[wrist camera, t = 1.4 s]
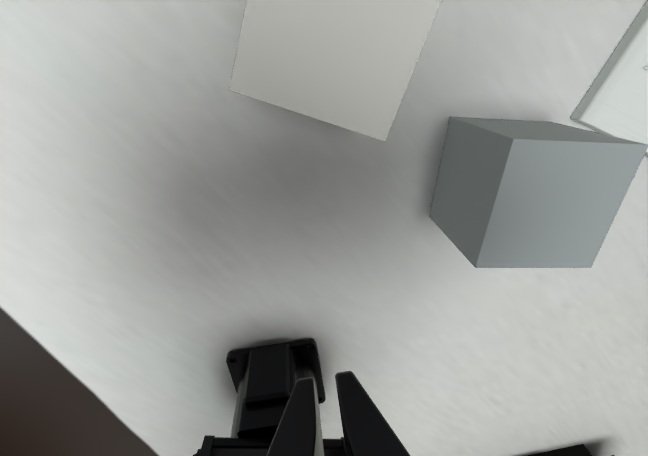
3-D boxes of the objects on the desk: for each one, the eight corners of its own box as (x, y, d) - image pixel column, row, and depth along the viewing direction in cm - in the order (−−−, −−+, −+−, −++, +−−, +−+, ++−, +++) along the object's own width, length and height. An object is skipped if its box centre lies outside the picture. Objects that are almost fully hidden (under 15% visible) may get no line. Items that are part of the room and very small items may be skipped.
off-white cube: (357, 118, 18) (385, 142, 13) (247, 81, 17) (228, 91, 12) (402, -8, 16) (458, -42, 11) (278, -62, 15) (271, -131, 9)
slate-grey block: (517, 217, 22) (591, 267, 17) (428, 215, 21) (475, 267, 16) (549, 121, 19) (649, 144, 14) (449, 116, 19) (513, 138, 13)
